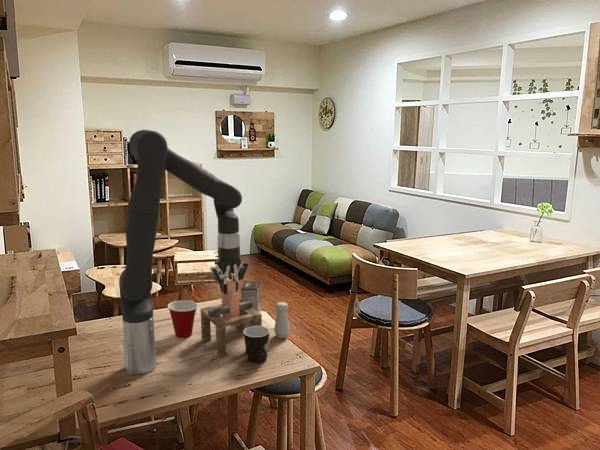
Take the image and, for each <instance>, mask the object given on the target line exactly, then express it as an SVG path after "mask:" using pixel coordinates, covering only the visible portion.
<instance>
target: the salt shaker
mask: <svg viewBox="0 0 600 450" xmlns="http://www.w3.org/2000/svg"><path fill="white" fill-rule="evenodd" d="M275 309H276V311H277V313H276V317H275V323H274V328H273V331H274V334H275V337H276V338H277V339H280V340H284V339H287V338H288V336H289V334H290V333H291V329H290V324H289V323H290V322H289V319H288V313H287V310H288V309H289V305H288V303H287V302H285V301H279V302H277V303H276V305H275Z"/></svg>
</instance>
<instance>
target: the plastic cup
mask: <svg viewBox="0 0 600 450" xmlns="http://www.w3.org/2000/svg"><path fill="white" fill-rule="evenodd" d="M167 307H168V308H167V309H168V310H169V315H170V317H171V321H172V327H173V330H174V334H175V337H176V338H179V339H186V338H190V337H191V336H192V334H193V328H194V323H195V316H196V313H197V309H198V307H199V304H198V303H197V302H195V301H192V300H175V301H171V302H170V303H168V305H167Z"/></svg>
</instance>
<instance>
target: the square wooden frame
mask: <svg viewBox="0 0 600 450" xmlns="http://www.w3.org/2000/svg"><path fill="white" fill-rule="evenodd" d="M226 313H230V309H229V305H227V306H222V303H219V304H215V305H210V306H206V307H201V308H200V325H201V326H200V327H201V328H200V329H201V331H200V332H201V340H202V342H204V343H207V342H211V341H212V333H211V331H212V330H211V329H212V328H211V323H212V324H213V325H214V326H215V341H216V342H215V344H216V347H215V348H216V355H217V357H218V358H223V357H227V330H226V329H227V327H231V325H235V324H240V325H237V326H235V332H236V333H238V334H244V332H243V331H244V330H245V329H246V328H245V322H248V321H252V326H263V325H262V324H263V322H262V319H263V318H262V316H263V315H262V313H261V312H260V313H259V312H258V311H256V310H255V309H253V308H252V302H251V301H246V302H244V301H242V299H239V316H238V317H233V318H229V319H224V318H223V317H222V314H226ZM244 314H245V315H244Z"/></svg>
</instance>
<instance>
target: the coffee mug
mask: <svg viewBox="0 0 600 450" xmlns="http://www.w3.org/2000/svg"><path fill="white" fill-rule="evenodd" d="M270 332H271V330H270V329H269V328H268V327H266V326H263V325H262V326H251V327H248V328H245V330H244V331H243V337H244V338H243V340H244V347H245V354H246V359H247V362H249V364H254V365H258V364H263V363H265V362H266V361H267V359H268V352H269V351H268V350H269V342H270V341H269V340H270Z"/></svg>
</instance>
